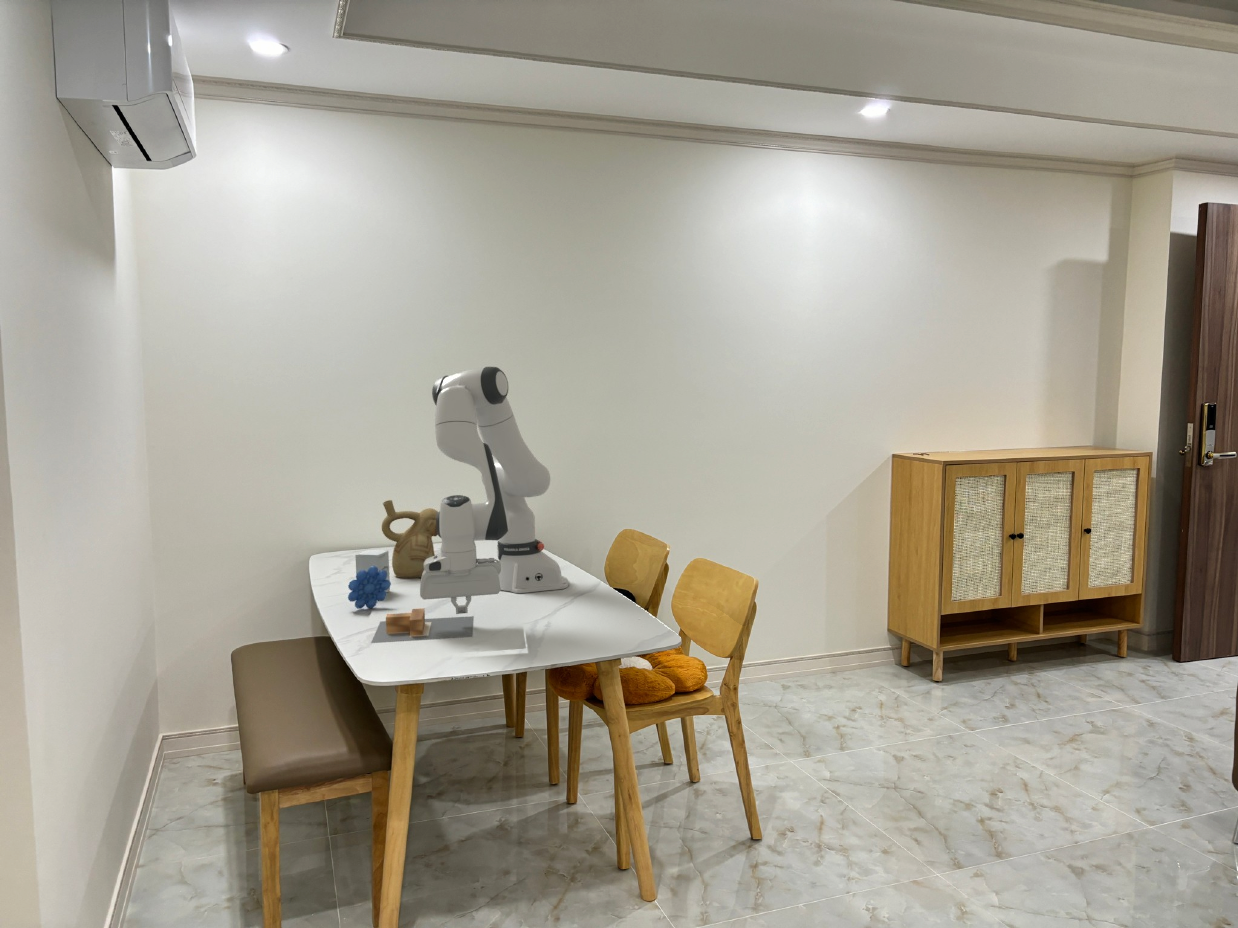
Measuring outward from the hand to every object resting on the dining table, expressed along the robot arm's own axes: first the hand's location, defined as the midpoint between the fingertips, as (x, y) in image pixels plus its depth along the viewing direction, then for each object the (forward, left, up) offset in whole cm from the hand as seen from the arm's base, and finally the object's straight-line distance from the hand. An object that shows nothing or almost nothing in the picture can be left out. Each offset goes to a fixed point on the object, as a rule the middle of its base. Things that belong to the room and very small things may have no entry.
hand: (461, 612), depth 219 cm
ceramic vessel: (+17, -64, -4) cm, 67 cm away
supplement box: (+27, -41, -4) cm, 50 cm away
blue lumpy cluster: (+26, -25, -4) cm, 37 cm away
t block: (+14, +2, -3) cm, 14 cm away
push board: (+9, +2, -4) cm, 10 cm away
